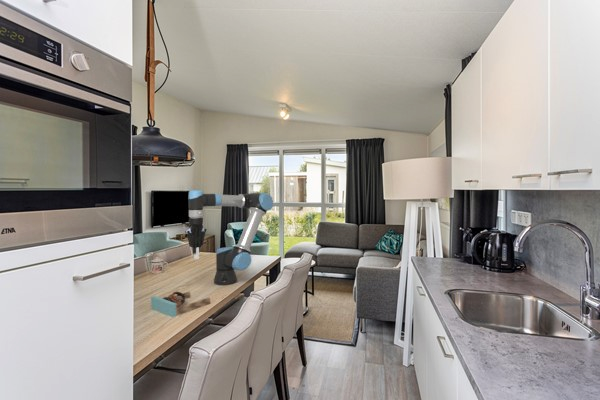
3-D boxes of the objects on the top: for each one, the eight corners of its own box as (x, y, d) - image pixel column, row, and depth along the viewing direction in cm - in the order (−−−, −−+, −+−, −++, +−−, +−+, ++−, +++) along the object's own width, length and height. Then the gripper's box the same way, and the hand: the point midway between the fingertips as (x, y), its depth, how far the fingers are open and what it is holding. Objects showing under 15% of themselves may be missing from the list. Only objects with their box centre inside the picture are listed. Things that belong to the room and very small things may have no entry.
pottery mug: (175, 302, 166) (182, 290, 165) (182, 314, 160) (190, 301, 160) (155, 303, 157) (162, 289, 156) (161, 315, 151) (169, 301, 150)
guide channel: (188, 296, 174) (188, 291, 174) (210, 303, 163) (210, 298, 163) (155, 307, 157) (154, 301, 157) (176, 315, 146) (176, 309, 146)
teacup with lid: (150, 274, 223) (149, 258, 223) (151, 271, 231) (151, 256, 231) (167, 272, 227) (167, 257, 227) (168, 270, 235) (168, 255, 235)
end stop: (155, 307, 157) (154, 295, 157) (176, 315, 146) (176, 303, 146) (151, 308, 156) (151, 297, 156) (172, 317, 145) (172, 304, 145)
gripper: (190, 218, 164) (190, 261, 165) (209, 216, 175) (210, 257, 176) (181, 218, 169) (182, 260, 169) (201, 216, 179) (201, 256, 180)
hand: (196, 258), depth 172 cm, fingers closed
